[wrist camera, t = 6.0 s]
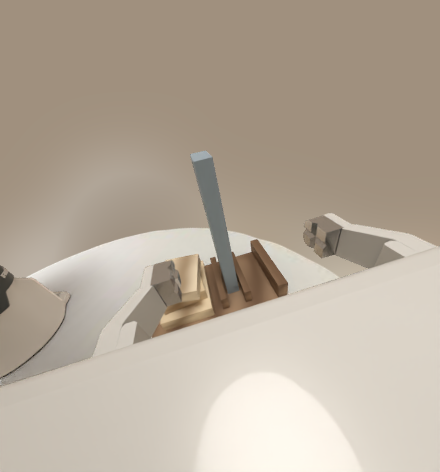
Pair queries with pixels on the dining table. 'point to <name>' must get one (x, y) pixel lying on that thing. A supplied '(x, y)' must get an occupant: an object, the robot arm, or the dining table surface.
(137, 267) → the dining table surface
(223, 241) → the tall sheet
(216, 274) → the rack
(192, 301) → the offcut stack
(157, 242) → the dining table surface
